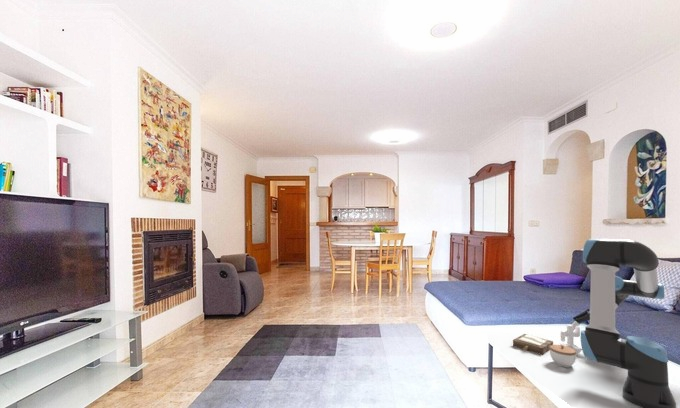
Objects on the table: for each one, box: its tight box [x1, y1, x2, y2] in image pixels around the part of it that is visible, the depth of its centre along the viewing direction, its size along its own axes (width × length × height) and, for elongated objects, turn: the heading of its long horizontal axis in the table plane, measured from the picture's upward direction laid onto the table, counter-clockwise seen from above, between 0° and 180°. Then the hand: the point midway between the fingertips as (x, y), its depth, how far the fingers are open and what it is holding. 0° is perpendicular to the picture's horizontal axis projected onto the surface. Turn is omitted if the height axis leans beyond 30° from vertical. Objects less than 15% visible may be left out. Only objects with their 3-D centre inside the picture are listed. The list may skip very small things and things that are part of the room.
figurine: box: [559, 324, 582, 356], centre depth 172 cm, size 7×9×15 cm
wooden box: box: [512, 333, 554, 356], centre depth 179 cm, size 20×15×4 cm
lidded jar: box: [549, 344, 577, 368], centre depth 158 cm, size 11×11×9 cm
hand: (578, 335), depth 173 cm, fingers open, 13 cm apart
